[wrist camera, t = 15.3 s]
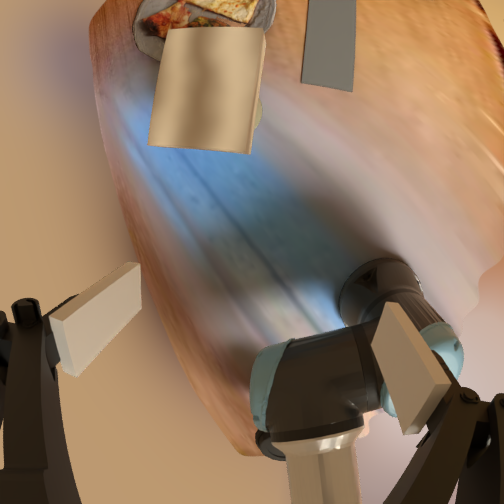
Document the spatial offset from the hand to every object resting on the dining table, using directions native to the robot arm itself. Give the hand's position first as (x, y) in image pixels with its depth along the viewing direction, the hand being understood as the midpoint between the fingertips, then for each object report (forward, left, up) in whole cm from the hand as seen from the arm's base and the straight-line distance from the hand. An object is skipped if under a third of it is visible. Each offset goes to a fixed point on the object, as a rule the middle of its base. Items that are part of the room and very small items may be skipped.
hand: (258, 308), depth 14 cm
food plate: (+17, -34, -32) cm, 50 cm away
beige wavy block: (+9, -15, -20) cm, 26 cm away
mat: (-5, -33, -32) cm, 46 cm away
